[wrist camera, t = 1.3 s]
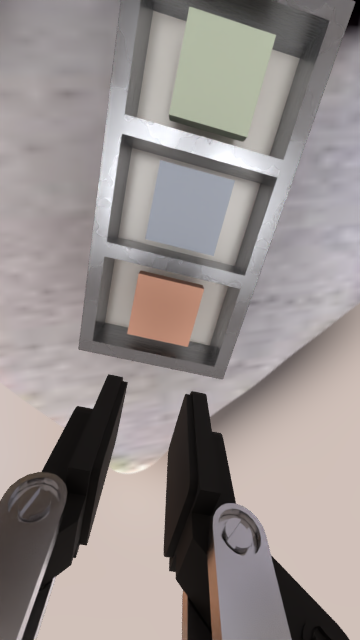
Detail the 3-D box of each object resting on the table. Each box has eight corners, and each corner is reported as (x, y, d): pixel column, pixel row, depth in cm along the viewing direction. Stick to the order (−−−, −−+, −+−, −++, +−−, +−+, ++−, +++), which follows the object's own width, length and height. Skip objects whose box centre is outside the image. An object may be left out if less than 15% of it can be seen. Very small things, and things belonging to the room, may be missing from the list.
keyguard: (140, -16, 17) (130, -78, 13) (319, 44, 18) (355, 1, 14) (92, 329, 25) (78, 349, 22) (216, 356, 27) (222, 379, 23)
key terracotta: (142, 267, 22) (138, 273, 20) (201, 281, 23) (204, 289, 21) (131, 322, 24) (127, 333, 22) (187, 334, 25) (187, 346, 22)
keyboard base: (144, 6, 19) (140, -16, 17) (306, 59, 20) (319, 44, 18) (98, 321, 27) (92, 329, 25) (214, 347, 28) (216, 356, 27)
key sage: (188, 33, 17) (189, 6, 15) (263, 57, 18) (276, 34, 15) (169, 125, 19) (168, 114, 17) (239, 145, 19) (247, 137, 17)
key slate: (162, 166, 20) (160, 160, 18) (228, 184, 20) (235, 180, 18) (148, 236, 22) (145, 239, 19) (210, 251, 22) (213, 256, 20)
